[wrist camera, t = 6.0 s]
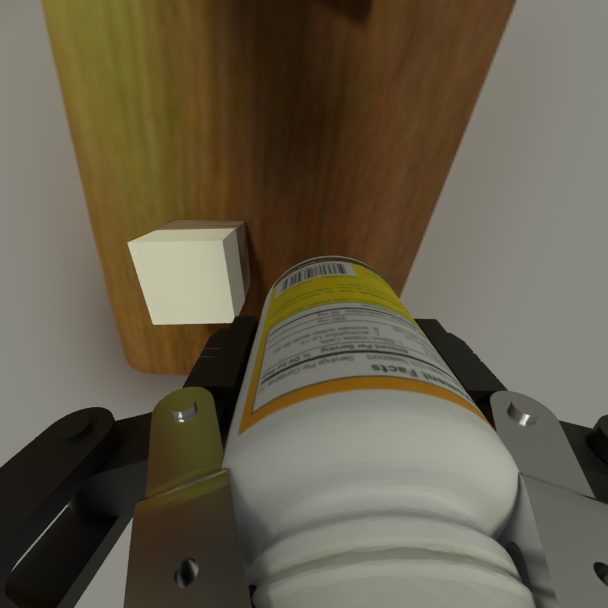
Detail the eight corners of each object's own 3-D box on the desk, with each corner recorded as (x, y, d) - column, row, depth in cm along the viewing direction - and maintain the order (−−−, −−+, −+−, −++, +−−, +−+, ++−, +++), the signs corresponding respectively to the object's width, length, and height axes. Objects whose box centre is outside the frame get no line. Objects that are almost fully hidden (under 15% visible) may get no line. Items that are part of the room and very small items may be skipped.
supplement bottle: (339, 380, 14) (407, 808, 5) (241, 326, 12) (61, 791, 3) (420, 298, 12) (834, 777, 3) (315, 221, 10) (402, 690, 1)
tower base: (176, 220, 32) (156, 228, 28) (245, 220, 32) (236, 229, 28) (189, 283, 36) (173, 300, 31) (251, 284, 36) (243, 300, 31)
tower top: (155, 230, 28) (127, 242, 23) (235, 228, 28) (222, 240, 23) (174, 301, 31) (153, 324, 27) (245, 300, 31) (235, 322, 27)
